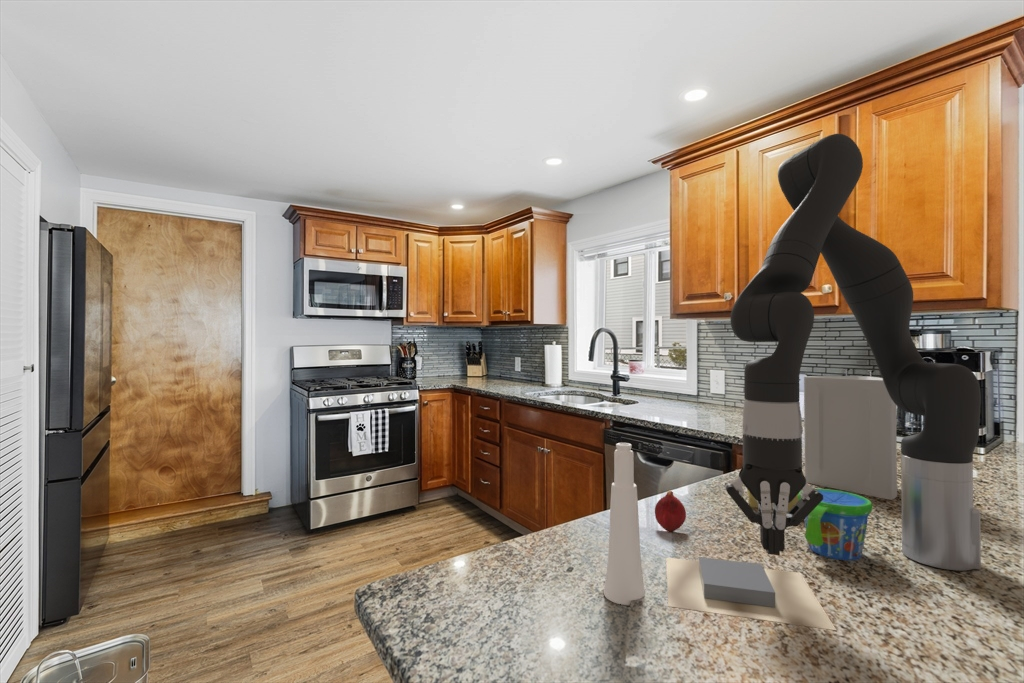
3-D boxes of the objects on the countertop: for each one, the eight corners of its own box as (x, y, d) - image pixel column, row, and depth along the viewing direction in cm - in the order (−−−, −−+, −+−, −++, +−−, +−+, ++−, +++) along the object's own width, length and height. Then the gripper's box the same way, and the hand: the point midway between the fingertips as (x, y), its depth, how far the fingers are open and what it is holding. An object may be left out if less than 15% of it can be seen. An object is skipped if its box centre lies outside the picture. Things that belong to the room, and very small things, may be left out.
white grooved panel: (910, 488, 123) (909, 378, 124) (891, 500, 114) (890, 380, 115) (826, 473, 139) (825, 374, 139) (803, 482, 130) (802, 376, 130)
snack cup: (828, 536, 93) (828, 482, 93) (893, 557, 83) (892, 497, 83) (777, 553, 85) (776, 494, 85) (841, 578, 76) (840, 512, 76)
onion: (688, 539, 91) (687, 496, 92) (656, 537, 93) (656, 494, 93) (683, 527, 97) (683, 487, 97) (653, 525, 98) (653, 486, 98)
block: (761, 564, 74) (698, 557, 77) (775, 592, 66) (704, 583, 68) (761, 577, 74) (698, 570, 77) (775, 608, 66) (704, 598, 68)
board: (800, 578, 76) (800, 572, 76) (836, 636, 61) (836, 630, 61) (666, 562, 82) (666, 557, 82) (668, 612, 66) (668, 606, 66)
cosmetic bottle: (611, 581, 75) (610, 438, 75) (650, 591, 72) (649, 442, 72) (597, 599, 70) (596, 445, 70) (639, 610, 67) (638, 449, 67)
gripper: (815, 429, 72) (816, 547, 72) (718, 425, 76) (719, 537, 75) (833, 439, 65) (834, 570, 64) (725, 434, 68) (725, 558, 68)
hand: (772, 552), depth 70 cm, fingers closed
